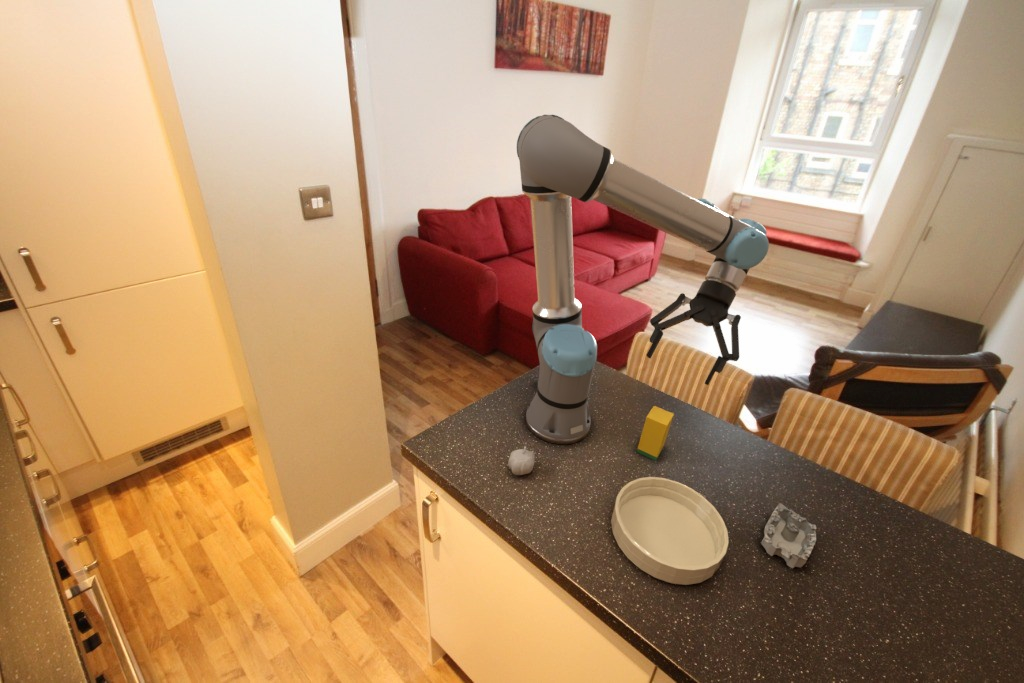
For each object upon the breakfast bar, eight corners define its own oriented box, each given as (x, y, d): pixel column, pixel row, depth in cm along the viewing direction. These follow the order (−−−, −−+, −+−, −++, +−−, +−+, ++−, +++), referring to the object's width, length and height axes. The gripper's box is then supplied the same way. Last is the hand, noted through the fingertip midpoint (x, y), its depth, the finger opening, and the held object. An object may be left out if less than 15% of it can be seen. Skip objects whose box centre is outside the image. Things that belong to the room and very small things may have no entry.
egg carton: (799, 575, 76) (809, 560, 74) (754, 546, 80) (762, 531, 78) (815, 537, 83) (824, 523, 81) (772, 513, 87) (780, 498, 85)
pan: (590, 511, 84) (594, 494, 82) (666, 481, 92) (671, 466, 90) (661, 605, 69) (668, 588, 67) (744, 560, 77) (753, 544, 75)
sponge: (643, 439, 103) (653, 405, 98) (662, 448, 101) (674, 413, 96) (636, 452, 99) (646, 416, 94) (656, 461, 97) (667, 425, 92)
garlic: (521, 455, 95) (523, 437, 93) (540, 469, 92) (542, 450, 90) (501, 469, 91) (502, 450, 89) (520, 484, 88) (522, 465, 86)
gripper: (775, 312, 98) (731, 397, 98) (668, 272, 109) (628, 349, 109) (781, 302, 92) (734, 394, 91) (666, 261, 102) (623, 343, 102)
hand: (676, 370), depth 100 cm, fingers open, 13 cm apart
